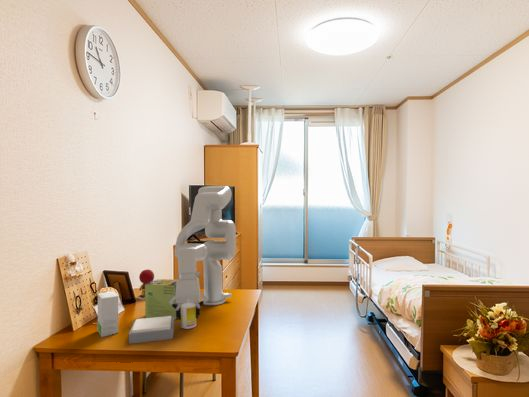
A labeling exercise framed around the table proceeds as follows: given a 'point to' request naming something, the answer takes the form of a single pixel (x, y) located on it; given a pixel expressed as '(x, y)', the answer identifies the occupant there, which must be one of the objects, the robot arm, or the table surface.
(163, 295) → the protein box
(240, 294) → the table surface
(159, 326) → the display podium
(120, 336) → the table surface
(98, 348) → the table surface
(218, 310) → the table surface
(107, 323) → the skincare box
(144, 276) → the figurine
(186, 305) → the supplement bottle
